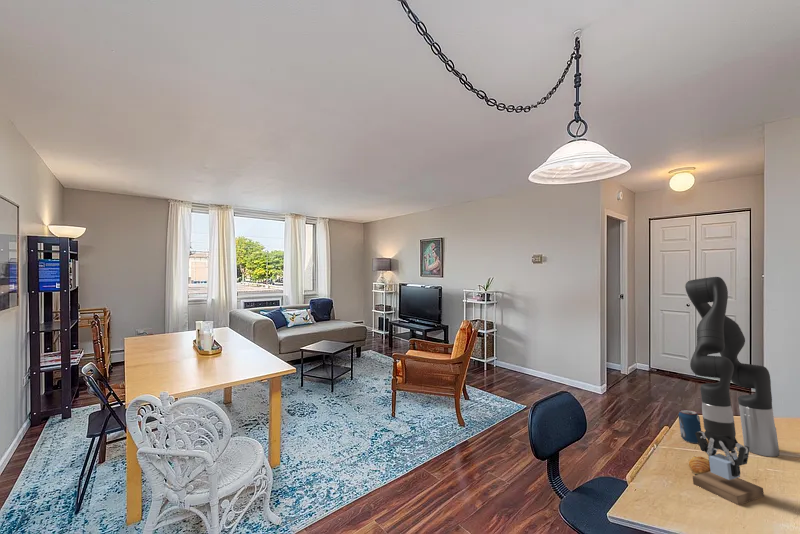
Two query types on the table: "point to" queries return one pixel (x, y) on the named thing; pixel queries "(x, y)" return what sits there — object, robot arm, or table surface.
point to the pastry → (699, 465)
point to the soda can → (689, 425)
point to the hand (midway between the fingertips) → (724, 471)
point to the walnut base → (729, 488)
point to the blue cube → (721, 466)
